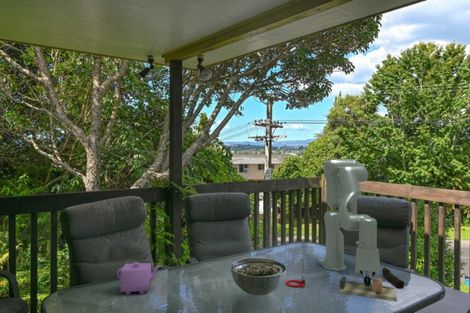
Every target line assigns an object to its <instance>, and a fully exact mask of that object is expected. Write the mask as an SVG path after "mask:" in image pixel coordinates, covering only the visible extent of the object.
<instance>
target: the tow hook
mask: <svg viewBox="0 0 470 313" xmlns="http://www.w3.org/2000/svg"><path fill="white" fill-rule="evenodd" d="M300 276H301V277H300V278H301V280H299V279H289V280H286V281H285V286H286V287H289V288H300V287H301V288H305V286H306V282H307V281H306V277H305V276H306V275H305V263H304V258H303V257H302V258H301V274H300ZM292 283H297V284H292Z"/></svg>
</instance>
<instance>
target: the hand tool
mask: <svg viewBox="0 0 470 313" xmlns="http://www.w3.org/2000/svg"><path fill="white" fill-rule="evenodd" d="M381 270H382V276H383V277H384V279H387V280H388V281H389V282H391V284H393V285H394V286H395V288H396V289H401V290H402V289H404V287H405V281H403V280H402V279H400V278H399V277H398V276H395V275H394V274H393V273H392V272H391V270H390V269H389V268H387V267H382V268H381Z"/></svg>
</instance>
